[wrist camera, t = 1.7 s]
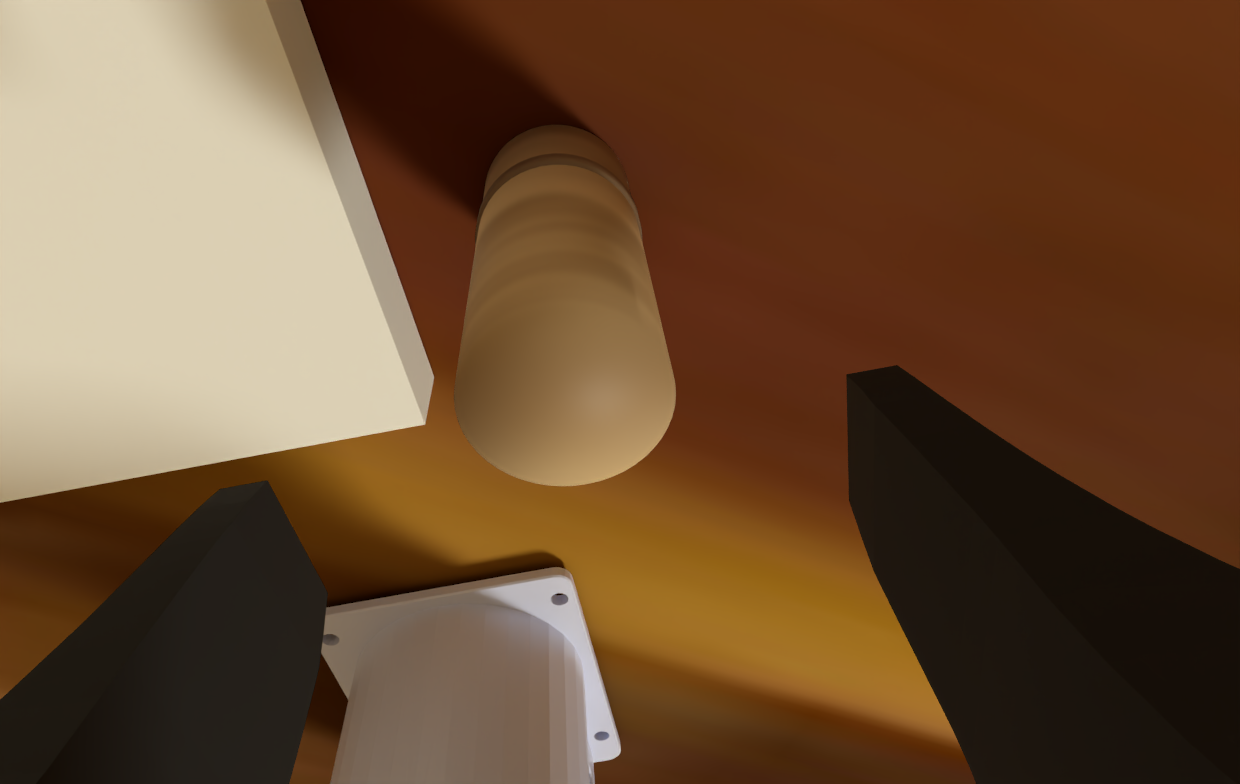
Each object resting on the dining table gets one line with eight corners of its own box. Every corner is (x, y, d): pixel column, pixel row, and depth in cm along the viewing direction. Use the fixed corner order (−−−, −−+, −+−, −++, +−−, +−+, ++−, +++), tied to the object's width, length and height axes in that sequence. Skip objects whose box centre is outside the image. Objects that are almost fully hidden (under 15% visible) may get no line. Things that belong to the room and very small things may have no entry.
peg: (641, 249, 20) (692, 467, 13) (502, 275, 20) (483, 505, 13) (618, 108, 18) (662, 279, 11) (464, 138, 18) (421, 325, 11)
